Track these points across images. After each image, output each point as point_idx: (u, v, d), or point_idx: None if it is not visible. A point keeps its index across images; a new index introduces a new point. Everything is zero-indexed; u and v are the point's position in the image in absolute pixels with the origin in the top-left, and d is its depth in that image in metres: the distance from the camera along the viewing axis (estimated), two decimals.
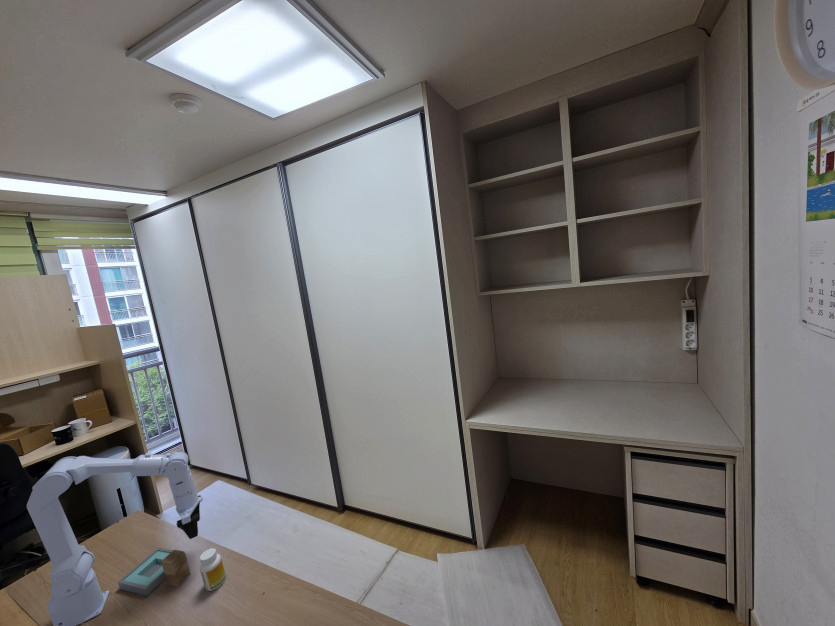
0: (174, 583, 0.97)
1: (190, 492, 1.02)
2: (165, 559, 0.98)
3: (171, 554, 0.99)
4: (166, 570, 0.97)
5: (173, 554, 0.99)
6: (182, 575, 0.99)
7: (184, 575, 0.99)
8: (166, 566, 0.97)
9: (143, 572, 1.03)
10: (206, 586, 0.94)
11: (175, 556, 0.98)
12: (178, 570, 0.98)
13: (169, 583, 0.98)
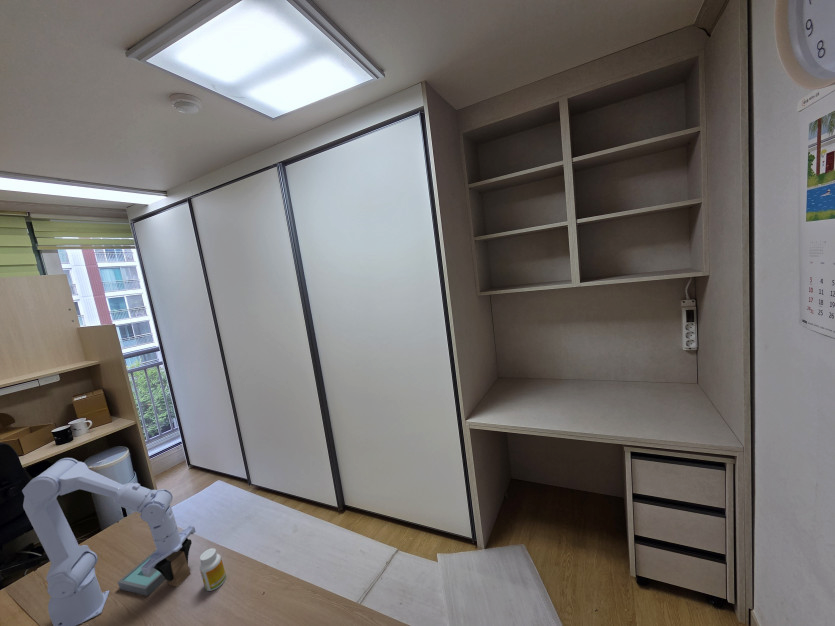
0: (174, 583, 0.97)
1: (162, 540, 0.95)
2: None
3: (171, 554, 0.99)
4: None
5: (173, 554, 0.99)
6: (182, 575, 0.99)
7: (184, 575, 0.99)
8: None
9: None
10: (206, 586, 0.94)
11: (175, 556, 0.98)
12: (178, 570, 0.98)
13: (169, 583, 0.98)
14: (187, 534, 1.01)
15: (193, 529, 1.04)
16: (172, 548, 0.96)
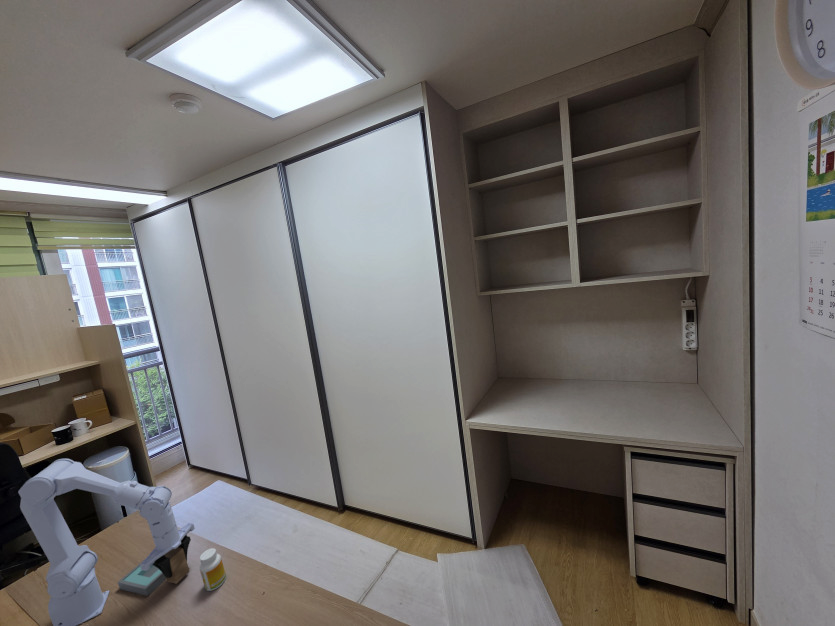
0: (173, 580, 0.97)
1: (161, 536, 0.94)
2: None
3: (170, 551, 0.99)
4: None
5: (172, 551, 0.99)
6: (181, 572, 0.99)
7: (183, 572, 0.99)
8: None
9: (143, 572, 1.03)
10: (206, 586, 0.94)
11: (174, 553, 0.98)
12: (177, 567, 0.97)
13: (168, 580, 0.98)
14: (186, 531, 1.01)
15: (192, 526, 1.04)
16: (171, 545, 0.96)
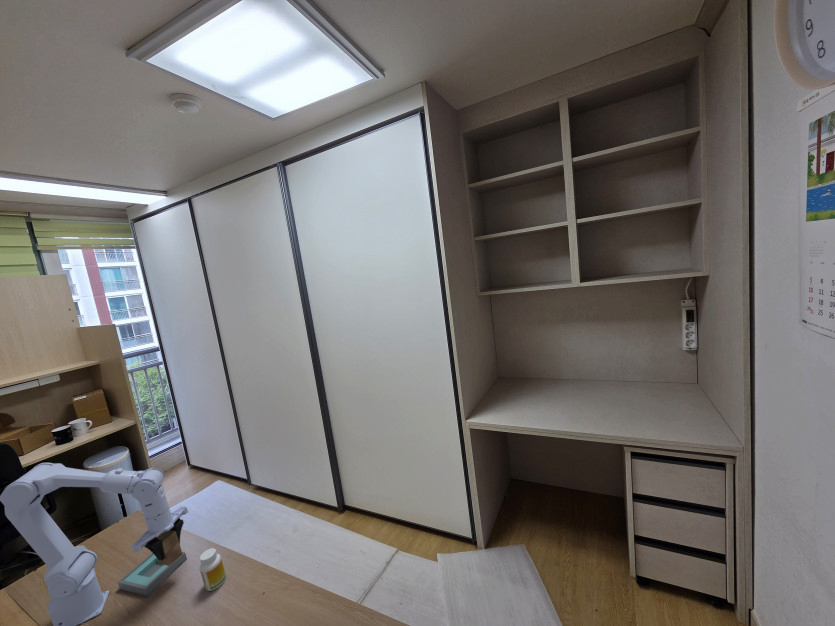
0: (165, 562, 0.97)
1: (153, 518, 0.94)
2: None
3: (163, 534, 0.98)
4: None
5: (165, 534, 0.98)
6: (174, 555, 0.98)
7: (176, 555, 0.98)
8: None
9: (143, 572, 1.03)
10: (206, 586, 0.94)
11: (167, 536, 0.97)
12: (169, 549, 0.97)
13: (160, 563, 0.97)
14: (179, 514, 1.01)
15: (185, 509, 1.03)
16: (163, 527, 0.95)
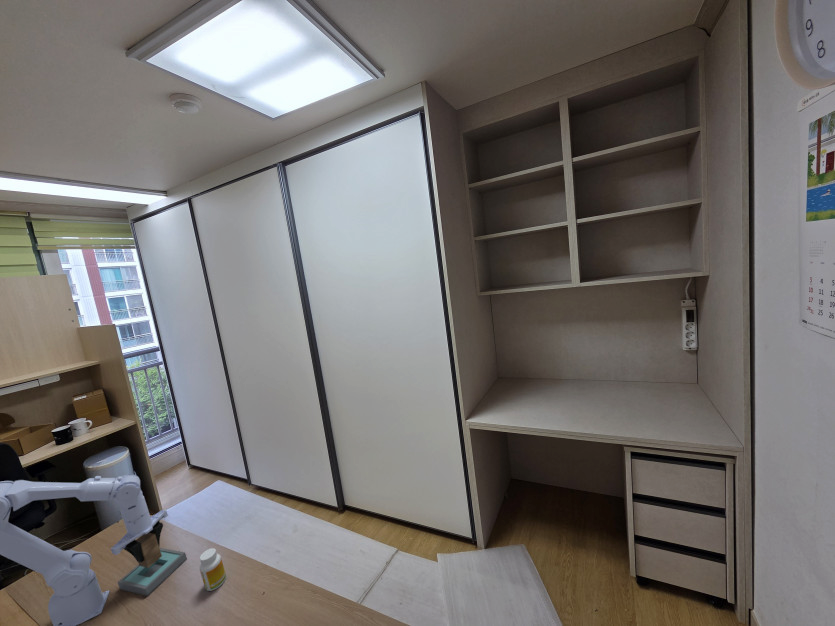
0: (145, 564, 1.00)
1: (132, 522, 0.97)
2: None
3: (142, 536, 1.02)
4: None
5: (145, 537, 1.01)
6: (153, 557, 1.01)
7: (155, 557, 1.02)
8: None
9: (143, 572, 1.03)
10: (206, 586, 0.94)
11: (146, 538, 1.01)
12: (148, 551, 1.00)
13: (140, 565, 1.01)
14: (158, 517, 1.04)
15: (165, 513, 1.06)
16: (142, 530, 0.99)
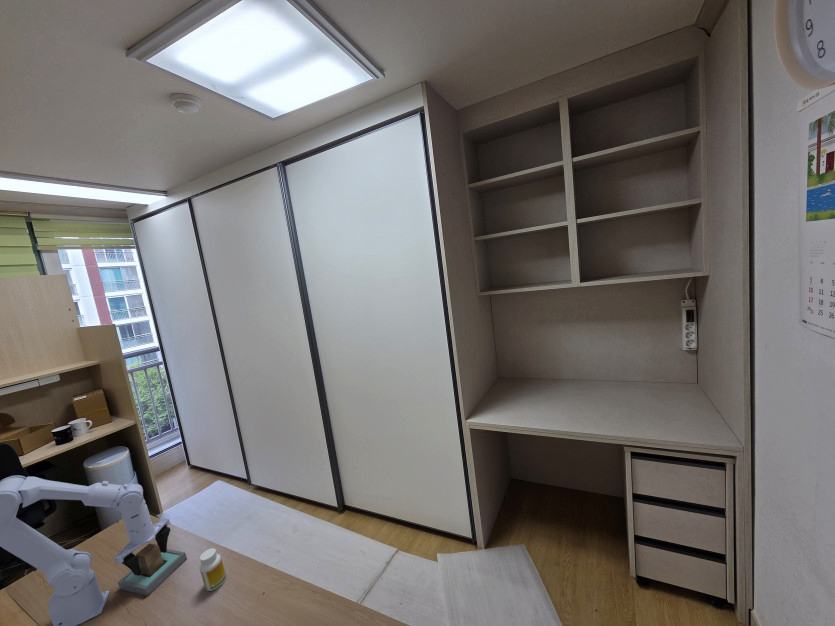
0: (148, 576, 1.01)
1: (135, 531, 0.98)
2: (139, 552, 1.01)
3: (146, 548, 1.02)
4: (140, 563, 1.00)
5: (148, 548, 1.02)
6: (156, 568, 1.02)
7: (158, 568, 1.02)
8: (140, 559, 1.00)
9: None
10: (206, 586, 0.94)
11: (149, 550, 1.01)
12: (152, 563, 1.01)
13: None
14: (161, 526, 1.04)
15: (167, 521, 1.07)
16: (145, 539, 0.99)
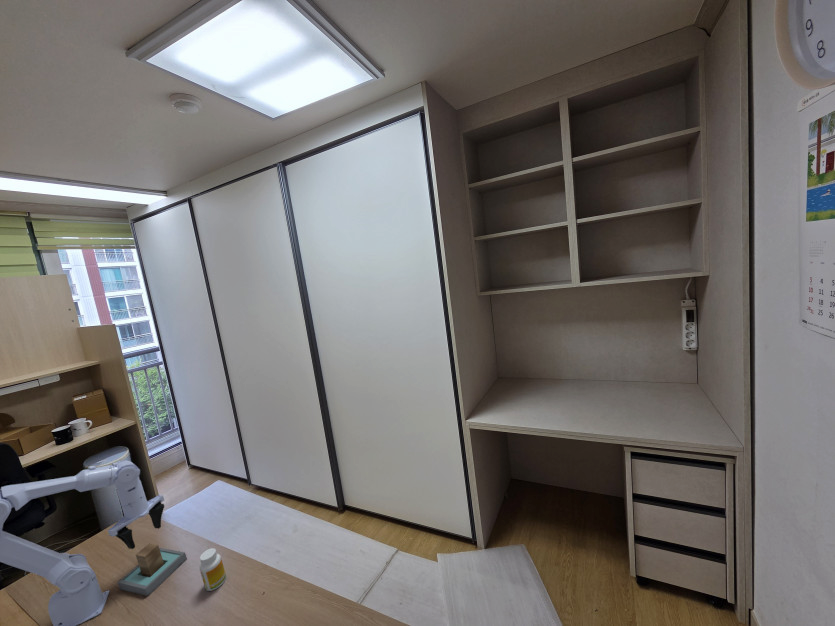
0: (148, 576, 1.01)
1: (129, 505, 1.00)
2: (139, 552, 1.01)
3: (146, 548, 1.02)
4: (140, 563, 1.00)
5: (148, 548, 1.02)
6: (156, 568, 1.02)
7: (158, 568, 1.02)
8: (140, 559, 1.00)
9: None
10: (206, 586, 0.94)
11: (149, 550, 1.01)
12: (152, 563, 1.01)
13: None
14: (155, 502, 1.06)
15: (162, 498, 1.09)
16: (139, 513, 1.01)
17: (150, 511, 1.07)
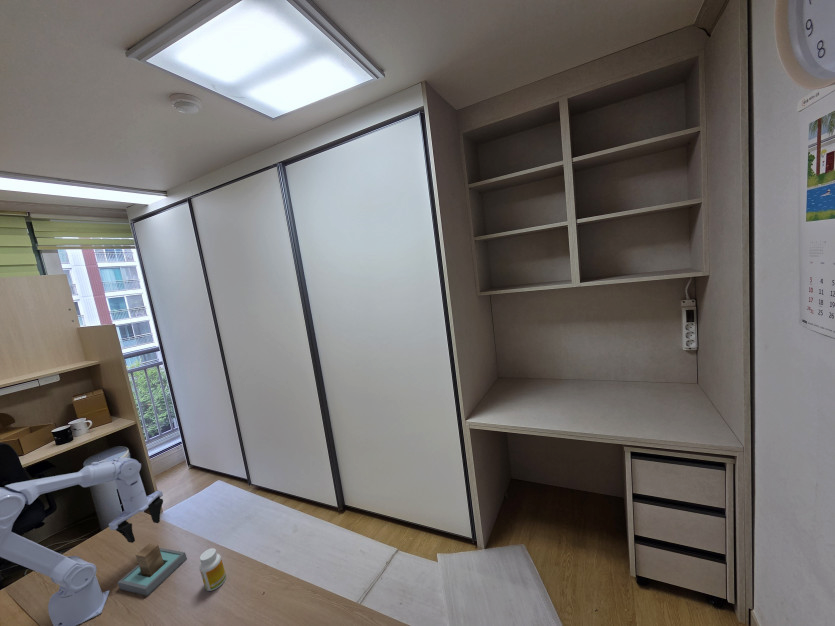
0: (148, 576, 1.01)
1: (129, 500, 1.02)
2: (139, 552, 1.01)
3: (146, 548, 1.02)
4: (140, 563, 1.00)
5: (148, 548, 1.02)
6: (156, 568, 1.02)
7: (158, 568, 1.02)
8: (140, 559, 1.00)
9: None
10: (206, 586, 0.94)
11: (149, 550, 1.01)
12: (152, 563, 1.01)
13: None
14: (154, 497, 1.09)
15: (160, 493, 1.12)
16: (139, 508, 1.04)
17: (149, 506, 1.10)
